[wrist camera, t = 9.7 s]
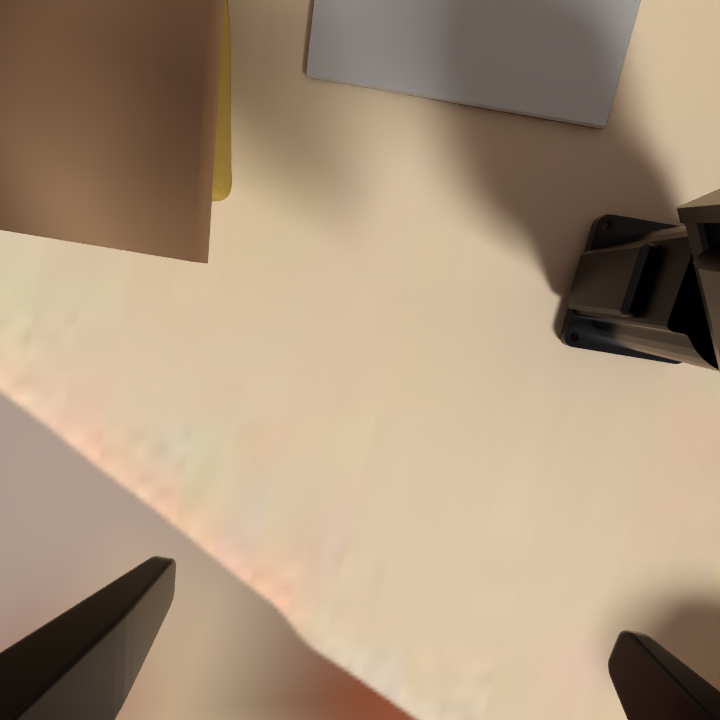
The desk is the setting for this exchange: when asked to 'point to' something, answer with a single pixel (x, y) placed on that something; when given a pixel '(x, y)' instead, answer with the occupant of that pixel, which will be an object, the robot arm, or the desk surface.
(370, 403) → the desk surface
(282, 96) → the desk surface
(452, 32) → the tray
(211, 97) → the lid
